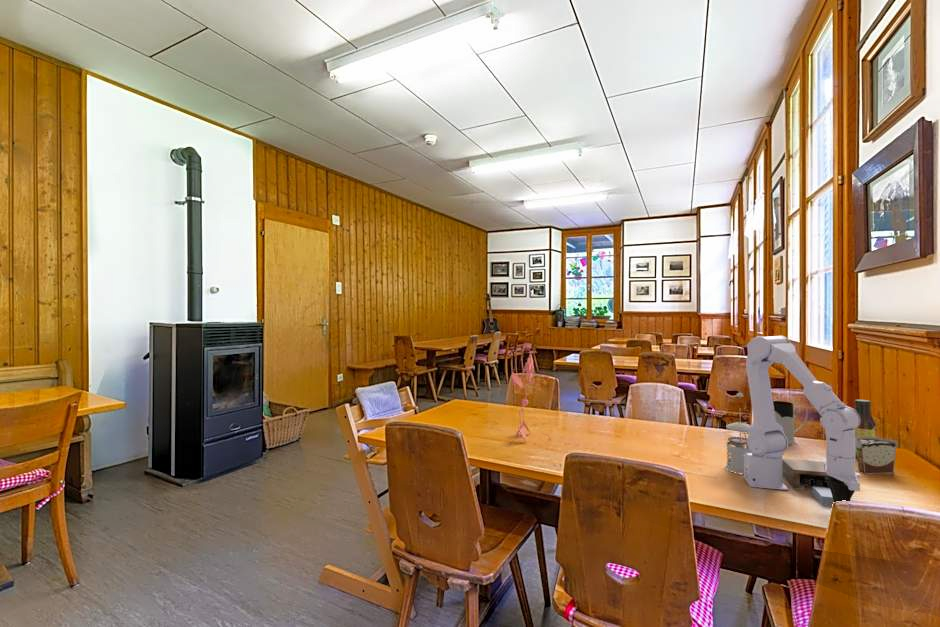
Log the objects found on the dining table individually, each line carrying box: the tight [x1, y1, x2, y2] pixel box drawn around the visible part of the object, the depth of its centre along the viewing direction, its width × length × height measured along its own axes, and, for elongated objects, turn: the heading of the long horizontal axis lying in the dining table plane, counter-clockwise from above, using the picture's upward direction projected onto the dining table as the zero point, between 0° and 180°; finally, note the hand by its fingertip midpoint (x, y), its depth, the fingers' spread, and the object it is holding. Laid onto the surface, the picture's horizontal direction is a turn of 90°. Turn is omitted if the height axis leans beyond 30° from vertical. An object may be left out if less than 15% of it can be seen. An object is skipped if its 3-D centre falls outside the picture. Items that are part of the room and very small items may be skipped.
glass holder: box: [773, 400, 809, 445], centre depth 174 cm, size 9×14×15 cm, turn 88°
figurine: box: [511, 353, 536, 441], centre depth 183 cm, size 15×26×35 cm, turn 163°
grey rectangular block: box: [812, 486, 834, 507], centre depth 121 cm, size 5×7×2 cm
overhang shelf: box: [782, 458, 831, 490], centre depth 132 cm, size 12×10×6 cm
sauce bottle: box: [853, 399, 877, 459], centre depth 153 cm, size 7×6×20 cm
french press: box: [724, 392, 752, 474], centre depth 145 cm, size 10×12×25 cm
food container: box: [855, 436, 899, 475], centre depth 142 cm, size 12×6×10 cm, turn 92°
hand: (841, 508), depth 114 cm, fingers closed
